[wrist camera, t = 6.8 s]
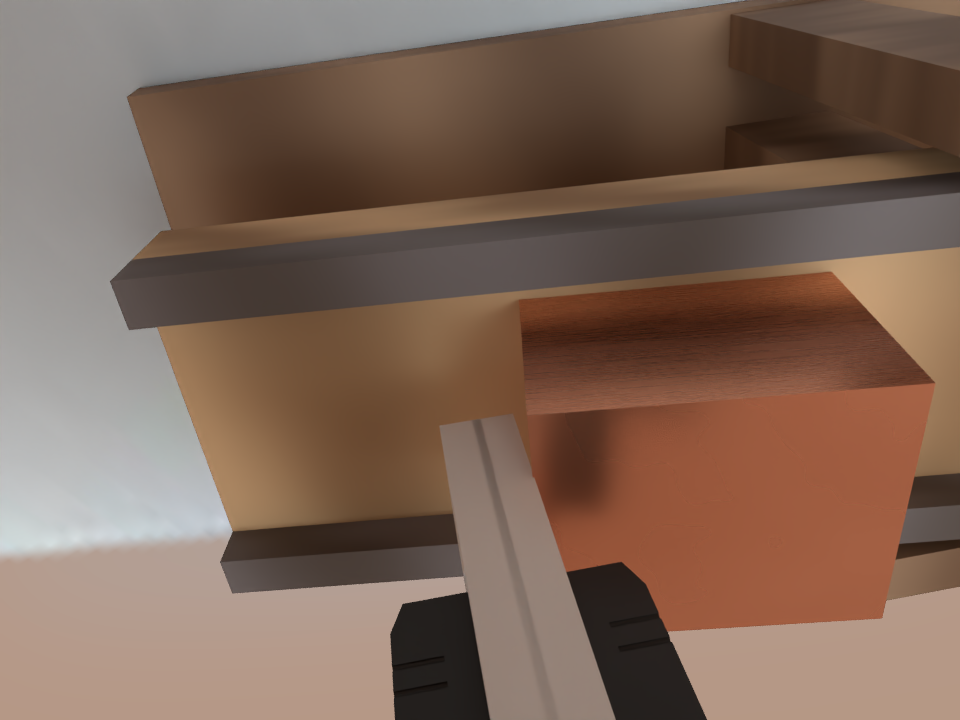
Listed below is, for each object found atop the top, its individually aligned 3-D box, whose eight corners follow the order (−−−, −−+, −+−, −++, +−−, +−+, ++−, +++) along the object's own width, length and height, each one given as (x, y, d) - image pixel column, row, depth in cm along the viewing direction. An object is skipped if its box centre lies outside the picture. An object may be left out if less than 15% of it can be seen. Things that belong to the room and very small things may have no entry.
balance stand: (258, 453, 26) (202, 733, 17) (139, 88, 20) (-44, 223, 11) (1193, 293, 28) (1588, 469, 19) (1339, -85, 22) (2020, -91, 13)
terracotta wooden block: (536, 495, 18) (546, 638, 14) (519, 299, 15) (527, 416, 12) (803, 476, 17) (881, 618, 14) (831, 271, 15) (935, 383, 11)
